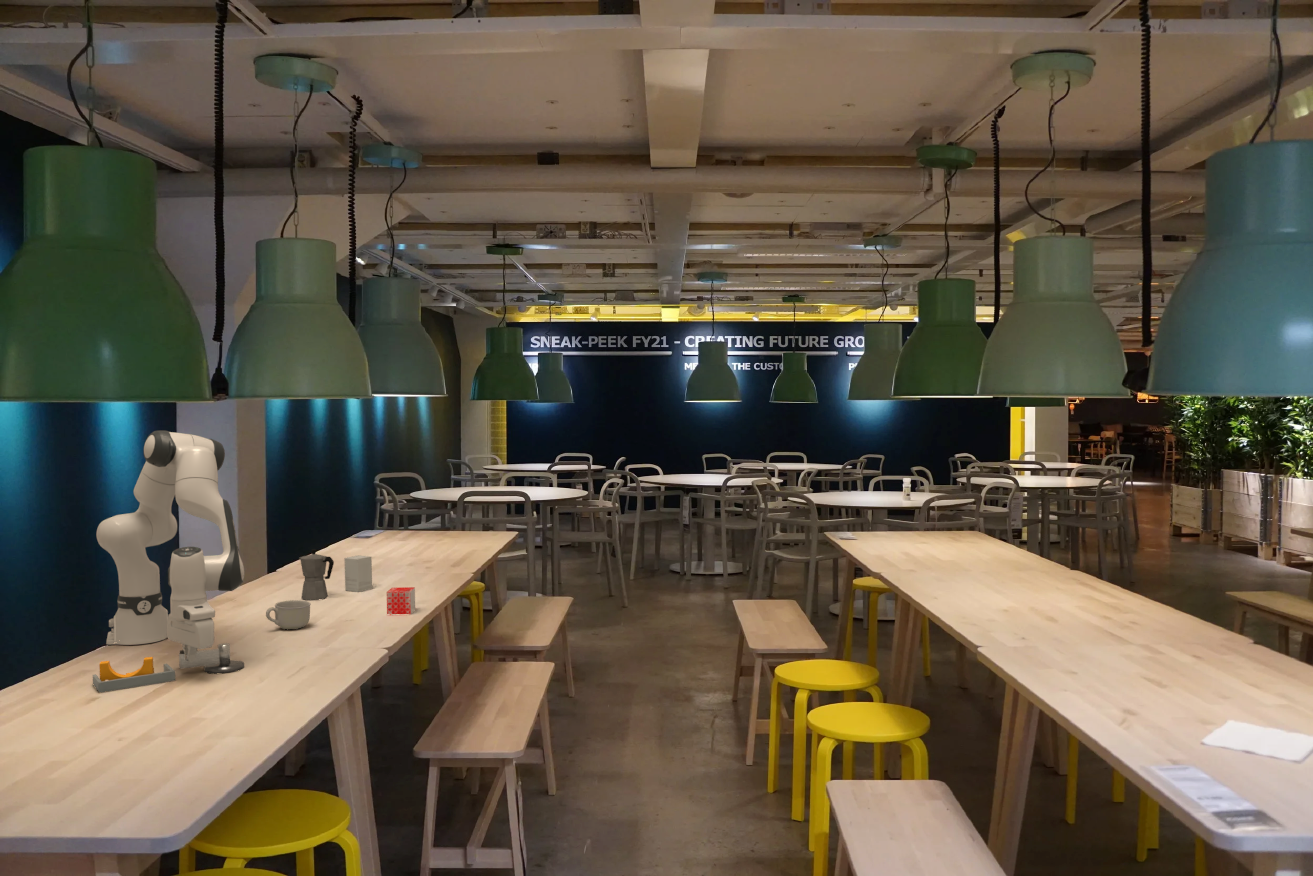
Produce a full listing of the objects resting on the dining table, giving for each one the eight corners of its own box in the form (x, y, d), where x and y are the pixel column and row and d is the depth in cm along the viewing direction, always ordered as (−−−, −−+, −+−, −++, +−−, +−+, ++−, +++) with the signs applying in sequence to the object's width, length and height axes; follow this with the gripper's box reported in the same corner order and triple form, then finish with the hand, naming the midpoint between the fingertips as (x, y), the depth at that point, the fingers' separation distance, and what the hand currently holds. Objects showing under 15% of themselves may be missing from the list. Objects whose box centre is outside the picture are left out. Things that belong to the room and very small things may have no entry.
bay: (92, 684, 263) (92, 674, 263) (167, 672, 273) (166, 663, 273) (99, 692, 255) (98, 683, 255) (175, 680, 266) (175, 671, 266)
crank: (230, 662, 279) (229, 642, 279) (230, 665, 276) (229, 645, 276) (179, 667, 274) (179, 647, 274) (179, 670, 271) (178, 650, 271)
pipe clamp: (154, 679, 267) (153, 655, 267) (152, 684, 263) (151, 659, 263) (102, 684, 263) (101, 659, 263) (100, 689, 259) (99, 664, 259)
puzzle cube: (392, 610, 352) (391, 587, 351) (415, 610, 352) (414, 587, 351) (387, 615, 344) (386, 592, 343) (410, 615, 344) (410, 591, 343)
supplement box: (373, 589, 390) (372, 556, 390) (357, 592, 384) (357, 559, 383) (359, 587, 394) (358, 554, 394) (344, 590, 388) (343, 557, 387)
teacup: (305, 622, 333) (305, 598, 333) (315, 628, 324) (314, 603, 324) (261, 628, 325) (260, 603, 325) (269, 635, 316) (269, 609, 316)
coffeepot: (291, 599, 372) (290, 550, 371) (309, 594, 381) (308, 546, 380) (325, 602, 366) (324, 552, 365) (342, 597, 375) (341, 548, 374)
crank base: (200, 668, 278) (200, 663, 278) (238, 662, 284) (238, 657, 284) (209, 675, 270) (209, 671, 270) (249, 669, 276) (248, 665, 276)
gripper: (159, 606, 276) (161, 657, 276) (194, 615, 262) (195, 669, 262) (183, 603, 280) (184, 653, 281) (218, 611, 267) (219, 664, 267)
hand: (190, 660), depth 271 cm, fingers closed
